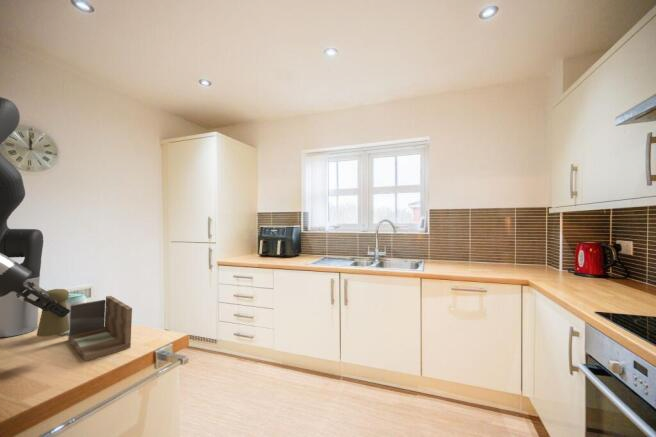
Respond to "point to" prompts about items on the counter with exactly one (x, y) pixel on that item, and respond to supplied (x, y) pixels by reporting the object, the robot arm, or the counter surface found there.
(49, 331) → the cork
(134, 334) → the counter surface
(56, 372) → the counter surface
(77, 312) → the shelf
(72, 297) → the can
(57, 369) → the counter surface
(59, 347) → the counter surface
